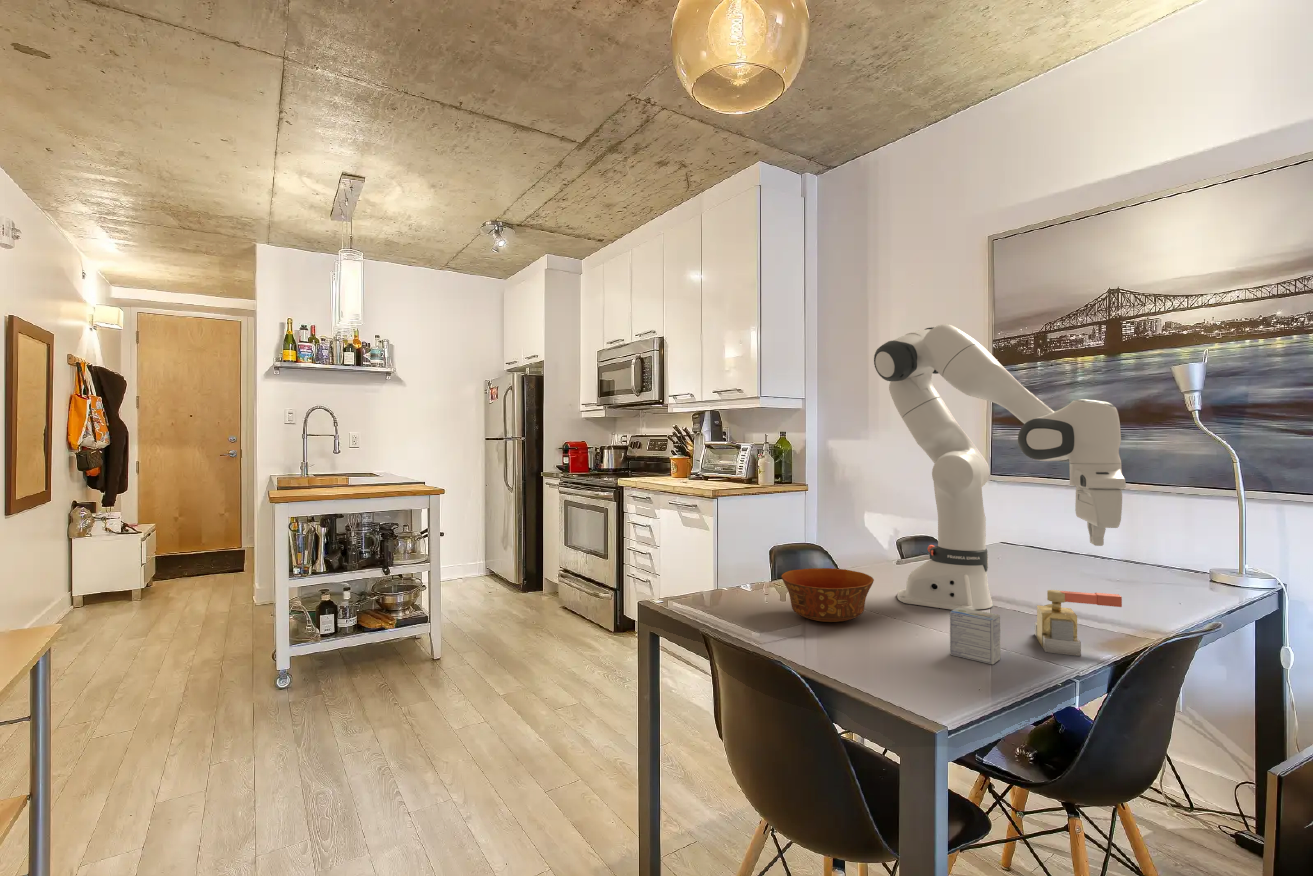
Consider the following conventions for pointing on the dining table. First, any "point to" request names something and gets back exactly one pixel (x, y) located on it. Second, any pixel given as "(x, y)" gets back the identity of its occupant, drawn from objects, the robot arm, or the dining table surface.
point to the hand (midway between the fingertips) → (1096, 544)
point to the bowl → (827, 593)
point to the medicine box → (975, 635)
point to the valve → (1057, 629)
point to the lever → (1085, 598)
